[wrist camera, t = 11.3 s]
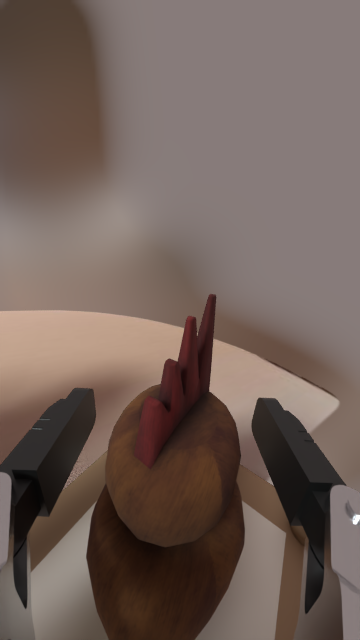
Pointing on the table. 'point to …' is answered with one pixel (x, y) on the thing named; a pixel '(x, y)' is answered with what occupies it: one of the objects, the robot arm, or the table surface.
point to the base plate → (235, 607)
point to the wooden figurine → (169, 503)
